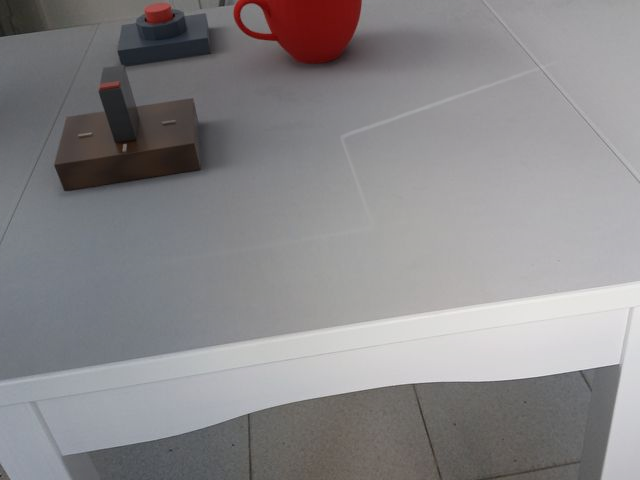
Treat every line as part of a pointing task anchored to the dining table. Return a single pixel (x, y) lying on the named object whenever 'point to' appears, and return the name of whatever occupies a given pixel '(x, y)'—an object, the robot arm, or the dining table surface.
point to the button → (158, 13)
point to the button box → (164, 39)
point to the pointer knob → (119, 103)
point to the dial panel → (129, 146)
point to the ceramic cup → (306, 26)
